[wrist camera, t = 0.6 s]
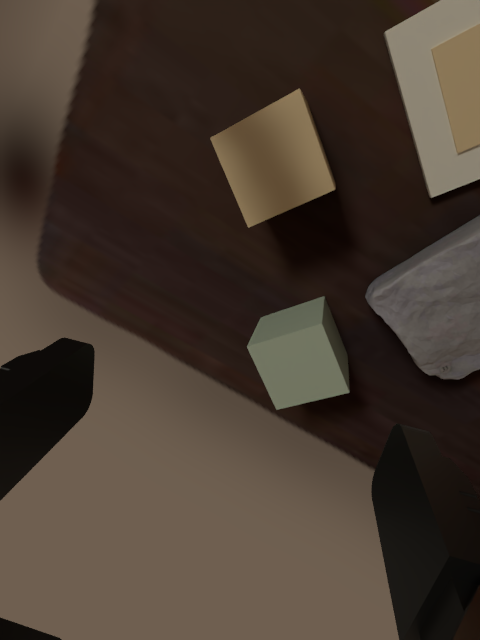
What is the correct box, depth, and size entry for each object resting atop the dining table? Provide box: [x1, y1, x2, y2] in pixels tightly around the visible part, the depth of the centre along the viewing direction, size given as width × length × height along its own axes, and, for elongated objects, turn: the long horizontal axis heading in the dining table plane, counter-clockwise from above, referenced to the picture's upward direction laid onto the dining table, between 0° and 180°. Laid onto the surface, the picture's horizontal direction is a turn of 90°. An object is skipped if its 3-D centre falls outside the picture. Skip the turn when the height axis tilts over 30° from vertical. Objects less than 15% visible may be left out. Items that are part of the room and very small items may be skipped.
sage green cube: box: [247, 296, 350, 410], centre depth 29 cm, size 6×6×6 cm
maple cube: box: [210, 89, 336, 228], centre depth 24 cm, size 6×6×6 cm
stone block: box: [365, 215, 480, 379], centre depth 26 cm, size 12×5×10 cm
